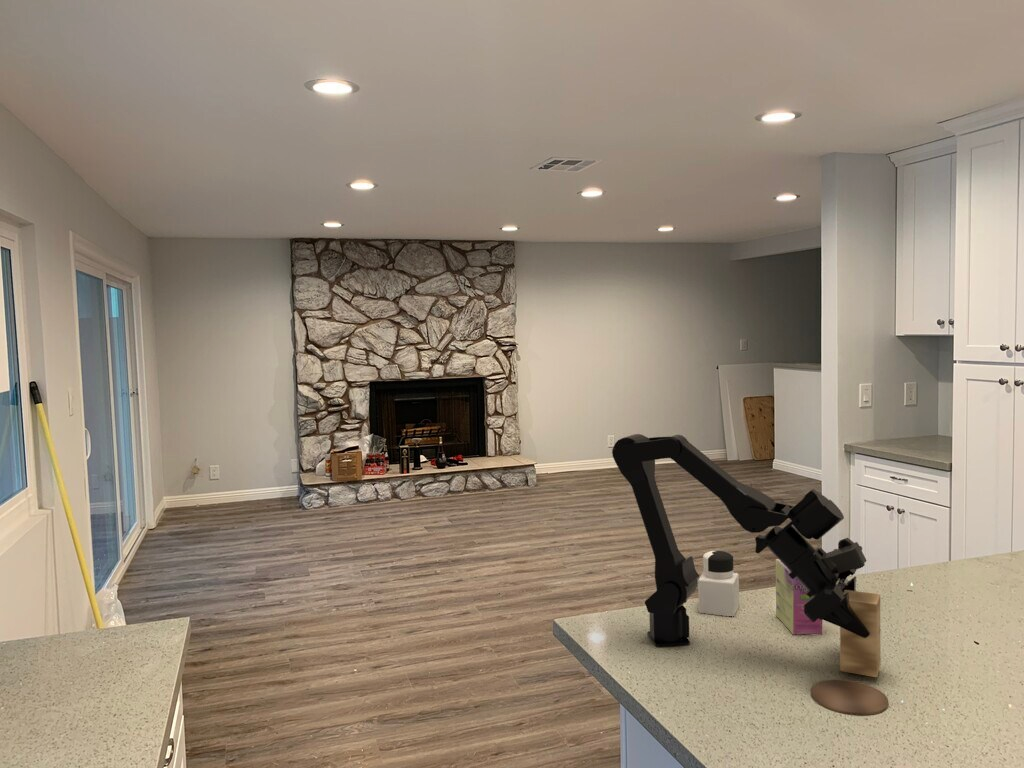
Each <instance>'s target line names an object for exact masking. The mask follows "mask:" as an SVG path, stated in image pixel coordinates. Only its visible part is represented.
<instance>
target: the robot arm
mask: <svg viewBox="0 0 1024 768" xmlns="http://www.w3.org/2000/svg"><path fill="white" fill-rule="evenodd" d="M611 449H612V450H611V454H612V458H613V460H614V463H615V465H616V467H617V469H618V471H619V473H620V474H621V475H622V476H623V478H624V479H625V480H626V481H627V482H628V484H630V486H631V489H632V493H633V495H634V498H635V501H636V504H637V507H638V510H639V513H640V516H641V519H642V522H643V525H644V528H645V531H646V535H647V537H648V540H649V544H650V546H651V549H652V553H653V555H654V556H653V557H654V582H655V586H656V587H655V588H656V591H655V592H653V593H652V594H651V595H650V596H649V597H648V598H647V599H646V600H645V601H644V604H645V607H646V610H647V613H649V630H648V631H647V636H648V638H649V639H650V641H651V642H652V643H653V644H654V646H655V647H669V646H671V647H672V646H683V645H684V646H685V645H690V643H691V641H690V640H689V637H690V616H689V615H688V614H687V608H686V607H685V606H684V604H686V603H687V601H688V599H689V598H690V597H691V596H692V595H693V594H694V593H695V592H696V590H697V588H698V578H700V574H699V573H698V572H697V570H696V568H695V562H694V558H693V556H691V555H690V556H688V557H685V555H684V554H682V553H681V551H680V550H679V548H678V545H677V542H676V539H675V536H674V533H673V530H672V526H671V524H670V521H669V520H670V519H669V517H668V514H667V511H666V508H665V506H664V503H663V500H662V497H661V493H660V490H659V487H658V485H657V481H656V477H655V476H656V475H655V472H656V471H655V470H656V461H657V460H661V459H662V460H663V459H671V460H672V461H673V462H675V463H676V464H677V465H679V467H681V468H682V469H683V470H684V471H686V472H687V473H688V474H690V475H691V476H692V478H694V479H695V480H697V481H698V482H699V483H700V484H701V485H703V486H704V487H705V489H707V490H708V491H710V492H711V493H713V494H714V495H715V496H716V498H718V499H719V500H721V502H722V503H723V504H724V505H725V507H726V509H727V511H728V512H729V514H730V515H731V516H732V517H733V518H734V520H735V521H736V522H737V523H738V525H739V526H740V527H741V528H743V530H745V531H747V532H749V533H762V532H765V530H767V529H768V528H769V527H772V528H771V529H770V530H769V531H768V532H767V533H765V534H764V535H762V534H757V535H756V536H755V538H754V539H755V551H754V552H755V553H756V554H760V553H761V552H763V551H764V550H765V549H766V548H768V549H769V551H770V552H771V553H772V554H773V555H774V556H775V557H776V559H779V560H780V561H781V562H782V563H783V564H784V565H785V566H786V567H787V568H788V570H789V571H790V573H789V574H788V575H789V576H790V577H791V578H792V579H794V578H795V577H796V578H797V579H798V580H799V581H800V582H801V583H802V584H803V585H804V586H805V588H806V589H807V590H808V592H807V595H808V596H809V597H810V598H809V599H808V600H807V601H806V603H805V605H804V613H805V615H806V616H807V617H808V618H809V619H810V620H811V621H812V622H815V621H816V620H817V619H818V618H819V619H820V620H822V621H825V622H827V623H830V624H832V625H834V626H837V627H839V628H840V627H842V628H844V629H846V630H848V631H850V632H852V633H855V634H857V635H859V636H861V637H863V638H866V637H868V636H869V635H870V633H869V632H868V630H867V629H866V627H865V626H864V624H863V623H862V622H861V620H860V619H859V618H858V616H857V615H856V614H855V612H854V611H853V610H852V608H851V607H850V605H849V593H846V594H845V595H844V593H843V592H844V590H851V591H857V576H854V575H855V574H856V572H857V570H858V569H861V568H863V567H864V566H865V564H866V562H867V561H868V560H867V559H866V557H865V555H864V552H863V547H862V546H861V545H860V544H859V543H858V542H857V541H852V540H851V539H850V538H849V537H845V538H843V539H839V541H838V543H837V544H838V545H837V546H838V548H834V549H833V550H831V551H828V552H826V551H825V550H824V549H823V548H822V547H816V548H815V547H814V546H813V545H812V544H811V543H810V542H809V541H808V540H811V539H813V540H817V541H819V540H820V539H822V538H823V536H825V535H826V534H827V533H829V532H830V531H831V530H832V529H833V528H834V527H836V526H837V525H838V524H839V523H841V521H843V520H844V519H845V517H844V514H843V512H842V511H841V509H840V508H839V507H838V505H837V504H835V503H834V501H832V500H831V499H829V498H827V497H826V496H825V495H823V494H822V493H819V492H818V491H817V490H816V489H815V488H811V489H810V490H809V491H808V492H807V493H806V494H805V495H804V497H803V498H801V499H800V500H799V502H797V503H796V504H795V505H792V504H791V505H790V504H787V503H786V504H785V503H783V502H776V501H775V500H774V499H773V498H772V497H770V496H769V495H767V494H765V493H763V492H761V491H759V490H758V489H756V488H755V487H751V486H749V485H747V484H744V483H742V482H740V481H738V480H737V479H735V478H734V477H733V476H732V475H731V474H729V473H728V472H727V471H726V470H724V469H723V468H722V467H721V466H719V465H718V464H717V463H716V462H714V461H713V460H712V459H710V458H709V457H708V456H707V455H706V454H704V453H703V452H702V451H701V450H700V449H698V448H697V447H696V446H694V445H693V444H692V443H690V442H689V440H688V439H687V437H685V436H684V435H681V434H674V435H668V436H654V437H653V436H652V437H648V436H645V435H644V434H640V433H636V434H631V435H628V436H623V437H622V438H620V439H618V440H616V442H615V443H614V445H613V447H612V448H611ZM788 519H789V520H790V521H789V522H788V523H786V525H784V527H780V526H781V525H782V524H783V523H785V522H786V521H787V520H788ZM850 576H854V577H853V578H850V580H849V579H848V577H850Z"/></svg>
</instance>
